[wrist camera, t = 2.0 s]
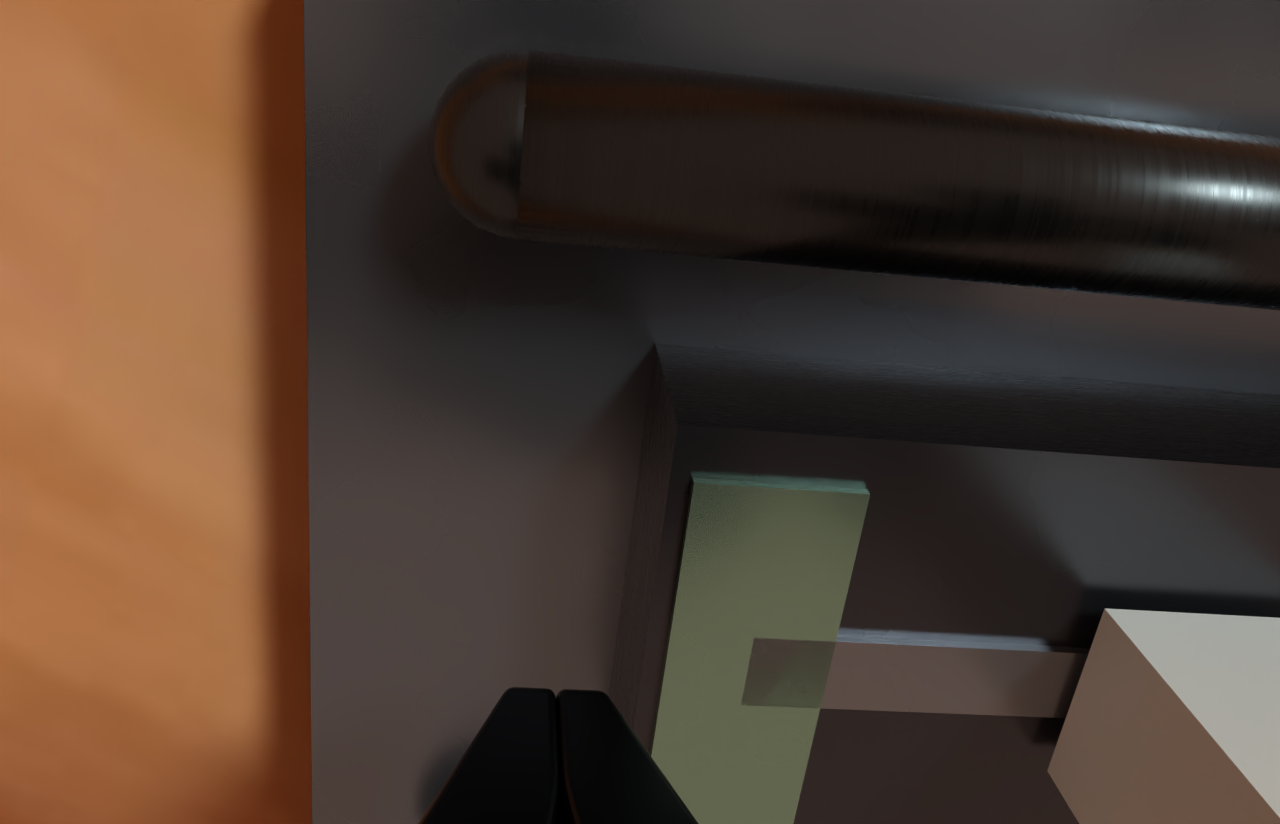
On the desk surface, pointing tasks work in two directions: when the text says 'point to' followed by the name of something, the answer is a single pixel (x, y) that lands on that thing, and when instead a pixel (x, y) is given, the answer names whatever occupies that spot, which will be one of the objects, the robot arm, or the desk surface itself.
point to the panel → (558, 324)
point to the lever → (1174, 722)
